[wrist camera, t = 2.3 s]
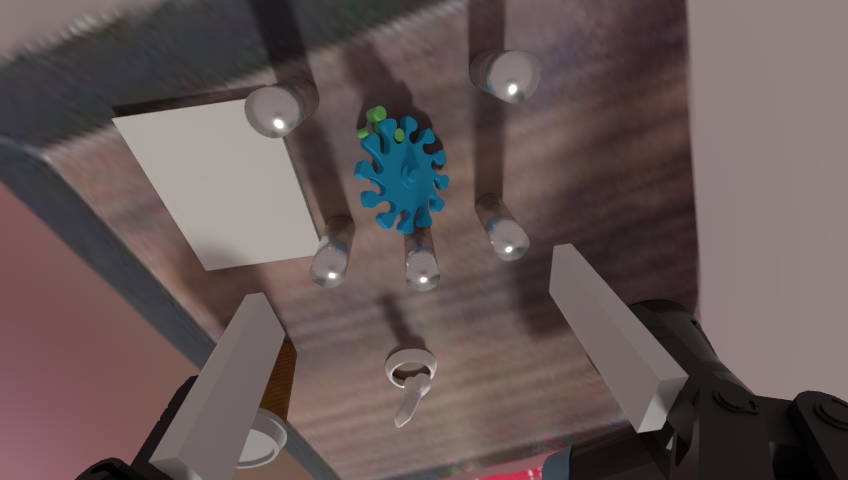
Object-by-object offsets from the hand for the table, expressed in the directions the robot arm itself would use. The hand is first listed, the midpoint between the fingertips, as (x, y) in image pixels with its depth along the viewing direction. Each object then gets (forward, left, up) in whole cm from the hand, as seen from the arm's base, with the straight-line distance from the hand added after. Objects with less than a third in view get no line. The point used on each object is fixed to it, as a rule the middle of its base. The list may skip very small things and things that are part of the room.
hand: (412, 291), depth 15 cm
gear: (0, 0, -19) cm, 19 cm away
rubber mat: (+17, +1, -19) cm, 25 cm away
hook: (+4, +31, -19) cm, 36 cm away
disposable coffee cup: (+22, +24, -19) cm, 37 cm away
